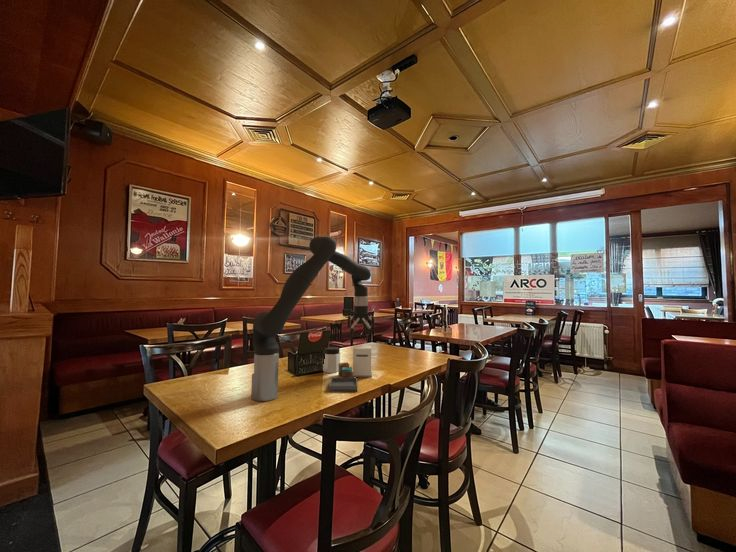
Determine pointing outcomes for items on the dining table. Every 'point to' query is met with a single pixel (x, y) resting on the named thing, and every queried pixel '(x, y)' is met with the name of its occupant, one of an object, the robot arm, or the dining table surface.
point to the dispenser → (361, 361)
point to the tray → (343, 385)
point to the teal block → (347, 372)
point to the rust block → (342, 367)
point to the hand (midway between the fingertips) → (360, 335)
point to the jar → (331, 360)
